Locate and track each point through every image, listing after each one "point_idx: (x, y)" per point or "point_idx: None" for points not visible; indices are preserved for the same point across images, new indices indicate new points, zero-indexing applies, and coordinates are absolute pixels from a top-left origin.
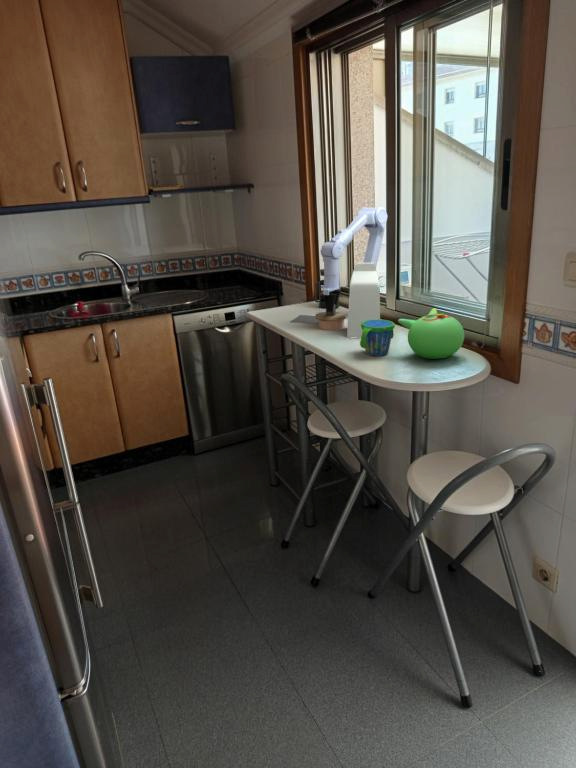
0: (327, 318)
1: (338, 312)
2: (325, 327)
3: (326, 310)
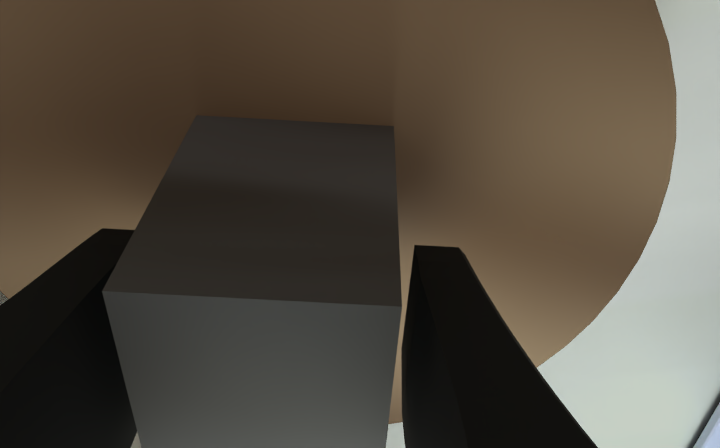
0: None
1: (584, 294)
2: None
3: (161, 205)
